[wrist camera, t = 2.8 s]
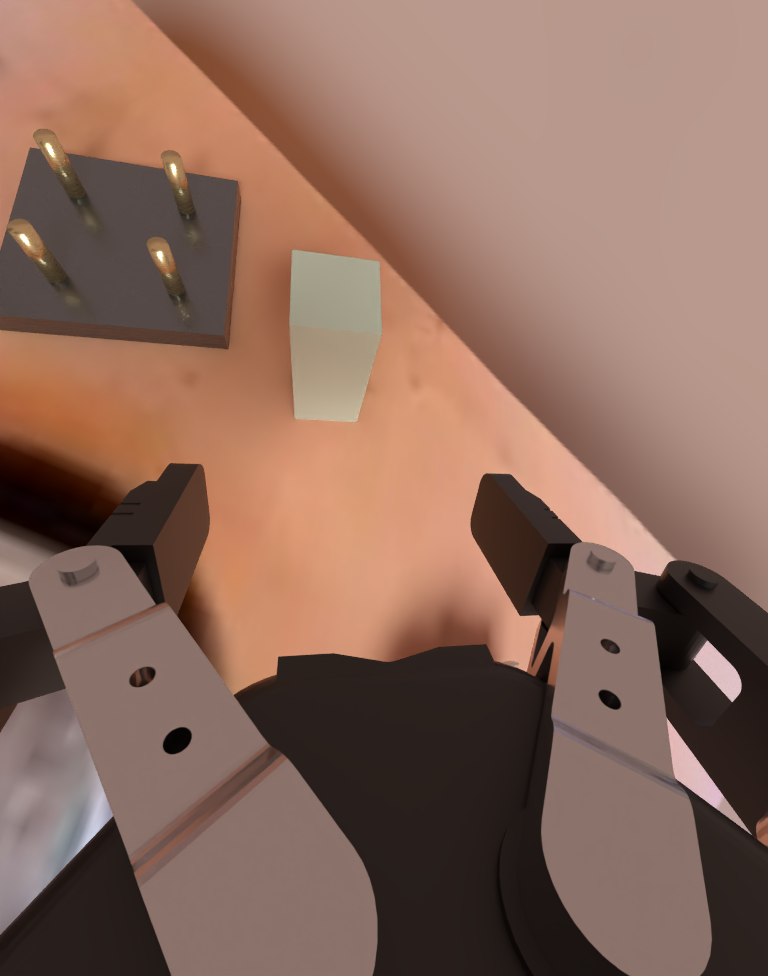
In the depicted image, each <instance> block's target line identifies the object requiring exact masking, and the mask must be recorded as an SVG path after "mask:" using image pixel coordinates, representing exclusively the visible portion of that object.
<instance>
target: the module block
mask: <svg viewBox="0 0 768 976" xmlns="http://www.w3.org/2000/svg"><path fill="white" fill-rule="evenodd" d="M289 329H290V346H291V364H292V381H293V398H294V415H295V419H306V420H325V421H344V422H357V419H358V416H359V412H360V409H361V405H362V402H363V399H364V395H365V392H366V388H367V385H368V381H369V378H370V374H371V371H372V367H373V364H374V360H375V357H376V353H377V350H378V347H379V343H380V340H381V336H382V317H381V290H380V263H379V261H375V260H367V259H360V258H352V257H345V256H337V255H330V254H322V253H315V252H307V251H300V250H292V265H291V292H290V318H289Z"/></svg>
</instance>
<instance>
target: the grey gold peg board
mask: <svg viewBox="0 0 768 976" xmlns="http://www.w3.org/2000/svg"><path fill="white" fill-rule="evenodd" d="M33 137H34V139H35V141H36V142H37V144H38V146H39V148H40V149H36V148H30V150H29V153H28V157H27V160H26V164H25V167H24V171H23V174H22V178H21V181H20V185H19V188H18V191H17V195H16V198H15V202H14V205H13V209H12V212H11V216H10V219H9V223H8V224H7V230H6V233H5V236H4V240H3V243H2V247H1V250H0V330H8V331H20V332H32V333H44V334H56V335H68V336H80V337H92V338H104V339H116V340H128V341H140V342H152V343H164V344H176V345H188V346H200V347H212V348H224V349H228V346H229V334H230V322H231V310H232V299H233V287H234V275H235V264H236V252H237V240H238V228H239V217H240V205H241V197H240V191H239V185H238V181H233V180H227V179H221V178H215V177H209V176H203V175H196V174H190V173H185V170H184V167H183V163H182V160H181V156H180V155H179V154H178V153H177V152H175V151H171V150H168V151H164V152H163V153H162V154H161V159H162V162H163V165H164V168H165V169H159V168H153V167H147V166H141V165H135V164H128V163H122V162H116V161H110V160H104V159H98V158H91V157H85V156H79V155H73V154H67V153H65V152H64V150H63V148H62V146H61V144H60V142H59V141H58V139H57V137H56V135H55V133H54V132H52V131H51V130H48V129H39V130H37V131H35V132H34V134H33Z"/></svg>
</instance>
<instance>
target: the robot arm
mask: <svg viewBox="0 0 768 976" xmlns="http://www.w3.org/2000/svg"><path fill="white" fill-rule="evenodd" d="M209 524H210V515H209V506H208V498H207V490H206V481H205V473H204V469H203V466H202V465H201V464H176V463H170V464H169V465H168V466H167V468H166V469H165V471H164V472H163V473H162V475H161V476H160V478H159V479H158V480H157V481H147V482H145V483H143V484H141V485H140V486H138V487H136V488H135V489H133V490H131V491H130V492H129V493H128V494H127V496H126V497H125V498H124V499H123V501H122V502H121V505H119V506H118V507H117V508H116V509H115V511H114V512H113V515H111V516H110V517H109V518H108V519H107V521H106V522H105V523H104V524H103V525H102V527H101V528H100V529H99V530H98V532H97V533H96V534H95V535H94V537H93V538H92V539H91V540H90V542H89V543H88V544H87V545H86V546H84V547H79V548H74V549H71V550H67V551H65V552H62V553H59V554H57V555H55V556H53V557H51V558H49V559H47V560H46V561H44V562H43V563H41V564H40V565H39V566H38V567H37V568H36V569H35V570H34V571H33V572H32V574H31V576H30V578H29V581H26V582H22V583H17V584H12V585H7V586H2V587H0V732H1V730H2V729H3V727H4V725H5V724H6V722H7V720H8V719H9V717H10V715H11V714H12V712H13V710H14V709H15V707H16V705H17V704H18V703H20V702H23V701H27V700H30V699H33V698H36V697H40V696H43V695H46V694H49V693H52V692H56V691H59V690H62V689H65V688H66V689H67V692H68V695H69V698H70V700H71V703H72V706H73V708H74V711H75V714H76V716H77V719H78V722H79V724H80V727H81V730H82V732H83V735H84V738H85V740H86V743H87V746H88V748H89V751H90V754H91V757H92V759H93V762H94V765H95V767H96V770H97V773H98V775H99V778H100V781H101V783H102V786H103V789H104V791H105V794H106V797H107V799H108V802H109V805H110V808H111V810H112V813H113V817H112V818H111V819H110V820H109V821H108V822H107V823H106V824H105V825H104V826H103V828H102V829H101V830H100V831H99V832H98V833H97V834H96V835H95V836H94V837H93V838H92V839H91V840H90V841H89V842H88V843H87V844H86V845H85V846H84V848H83V849H82V850H81V851H80V852H79V853H78V854H77V855H76V856H75V857H74V858H73V859H72V860H71V861H70V862H69V863H68V864H67V865H66V866H65V868H64V869H63V870H62V871H61V872H60V873H59V874H58V875H57V876H56V877H55V878H54V879H53V880H52V881H51V882H50V883H49V884H48V885H47V886H46V888H45V889H44V890H43V891H42V892H41V893H40V894H39V895H38V896H37V897H36V898H35V899H34V900H33V901H32V902H31V903H30V904H29V905H28V906H27V907H26V909H25V910H24V911H23V912H22V913H21V914H20V915H19V916H18V917H17V918H16V919H15V920H14V921H13V922H12V923H11V924H10V925H9V926H8V927H7V929H6V930H5V931H4V932H3V933H2V934H1V935H0V976H768V613H767V612H766V611H764V610H763V609H762V608H761V607H760V606H758V605H757V604H756V603H754V602H753V601H752V600H751V599H749V597H747V596H746V595H745V594H744V593H742V592H741V591H740V590H739V589H737V588H736V587H735V586H733V585H732V584H731V583H730V582H728V581H727V580H726V579H725V578H723V577H722V576H720V575H719V574H717V573H715V572H713V571H712V570H710V569H707V568H705V567H703V566H700V565H698V564H695V563H691V562H686V561H671V562H669V563H668V564H667V566H666V568H665V569H664V571H663V573H662V574H661V576H656V575H651V574H646V573H641V572H637V571H634V568H633V566H632V565H631V563H630V562H629V561H628V560H627V559H626V558H624V557H623V556H622V555H620V554H619V553H617V552H616V551H614V550H612V549H610V548H607V547H605V546H602V545H599V544H595V543H588V542H582V541H581V540H580V539H579V538H578V537H577V536H576V535H575V534H574V533H573V532H572V531H571V530H570V529H569V528H568V527H567V526H566V525H565V524H564V523H563V522H562V521H561V520H560V519H558V516H557V515H556V514H555V513H554V512H553V511H550V508H549V507H548V506H547V505H546V504H545V503H544V502H543V501H542V500H541V499H540V498H538V497H536V496H535V495H533V494H531V493H530V492H528V491H526V490H525V489H524V488H523V487H522V486H521V485H520V484H519V483H518V481H517V480H516V479H515V478H514V477H513V476H512V475H510V474H488V473H487V474H484V475H483V477H482V479H481V481H480V485H479V489H478V493H477V497H476V500H475V504H474V508H473V512H472V516H471V532H472V535H473V537H474V539H475V541H476V542H477V544H478V546H479V547H480V549H481V551H482V552H483V554H484V556H485V558H486V559H487V561H488V563H489V564H490V566H491V568H492V569H493V571H494V573H495V574H496V576H497V578H498V580H499V581H500V583H501V585H502V586H503V588H504V590H505V591H506V593H507V595H508V596H509V598H510V600H511V602H512V603H513V605H514V607H515V608H516V610H517V612H518V613H519V615H520V616H530V615H539V616H540V618H541V621H540V623H539V625H538V628H537V631H536V635H535V639H534V644H533V648H532V652H531V656H530V661H529V665H528V669H527V672H525V671H523V670H521V669H518V668H516V667H513V666H511V665H507V664H503V663H500V662H495V661H494V660H493V658H492V656H491V654H490V652H489V649H488V647H487V645H486V644H483V645H467V646H450V647H438V648H435V649H432V650H429V651H425V652H422V653H419V654H416V655H413V656H410V657H407V658H404V659H400V660H397V661H394V662H382V661H376V660H370V659H364V658H358V657H352V656H346V655H340V654H334V653H333V654H316V655H299V656H282V657H278V667H277V675H274V676H271V677H268V678H265V679H263V680H261V681H258V682H256V683H254V684H252V685H250V686H248V687H246V688H244V689H243V690H241V691H239V692H238V693H236V694H235V695H233V694H232V693H231V691H230V690H229V689H228V687H227V686H226V684H225V683H224V682H223V680H222V679H221V677H220V676H219V675H218V673H217V672H216V670H215V669H214V668H213V666H212V665H211V663H210V662H209V661H208V659H207V658H206V656H205V655H204V654H203V652H202V651H201V649H200V648H199V646H198V645H197V644H196V642H195V641H194V639H193V638H192V637H191V635H190V634H189V632H188V631H187V630H186V628H185V627H184V625H183V624H182V623H181V621H180V620H179V618H178V617H177V614H178V612H179V609H180V606H181V604H182V601H183V599H184V596H185V593H186V591H187V588H188V586H189V583H190V581H191V578H192V575H193V573H194V570H195V568H196V565H197V562H198V560H199V557H200V555H201V552H202V549H203V547H204V544H205V542H206V539H207V536H208V532H209ZM707 640H708V641H709V642H710V643H711V644H712V645H713V646H714V647H715V648H716V649H717V650H718V651H719V652H720V653H721V654H722V655H723V656H724V657H725V658H726V659H727V660H728V661H729V662H730V663H731V665H732V666H733V667H734V668H735V669H736V671H737V672H738V674H739V676H740V679H741V683H742V689H741V692H740V694H739V695H738V697H737V698H736V699H735V700H734V701H733V702H731V701H730V700H729V699H728V697H727V696H726V695H725V694H724V693H723V692H722V691H721V690H720V689H719V687H718V686H717V685H716V684H715V683H714V682H713V681H712V680H711V679H710V677H709V676H708V675H707V674H706V673H705V672H704V671H703V670H702V669H701V667H700V666H699V665H698V664H697V663H696V662H695V661H694V660H693V659H694V658H695V656H696V655H697V654H698V652H699V651H700V650H701V648H702V647H703V645H704V644H705V643H706V641H707ZM666 717H667V719H668V720H669V721H670V723H671V724H672V725H673V727H674V728H675V730H676V731H677V732H678V734H679V735H680V736H681V738H682V739H683V741H684V742H685V743H686V745H687V746H688V747H689V749H690V750H691V752H692V753H693V754H694V756H695V757H696V758H697V760H698V761H699V763H700V764H701V765H702V767H703V768H704V769H705V771H706V772H707V774H708V775H709V776H710V778H711V779H712V780H713V782H714V783H715V785H716V786H717V787H718V789H719V790H720V791H721V793H722V794H723V796H724V797H725V798H726V800H727V801H728V802H729V804H730V805H731V807H732V808H733V809H734V811H735V812H736V813H737V815H738V816H739V818H740V819H741V820H742V821H743V823H744V824H745V826H746V827H747V829H748V830H749V831H750V833H751V834H752V835H753V836H752V835H751V834H749V833H748V832H747V831H745V830H744V829H743V828H741V827H740V826H739V825H737V824H736V823H734V822H733V821H732V820H730V819H729V818H728V817H726V816H725V815H724V814H722V813H721V812H720V811H718V810H717V809H716V808H714V807H713V806H712V805H710V804H709V803H708V802H706V801H705V800H703V799H702V798H701V797H699V796H698V795H697V794H695V793H694V792H693V791H691V790H690V789H689V788H687V787H686V786H685V785H683V784H682V783H681V782H679V781H678V780H676V779H675V776H674V772H673V766H672V758H671V750H670V742H669V734H668V727H667V719H666Z"/></svg>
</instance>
